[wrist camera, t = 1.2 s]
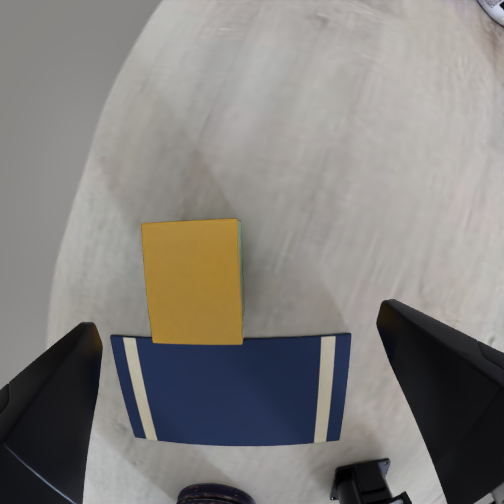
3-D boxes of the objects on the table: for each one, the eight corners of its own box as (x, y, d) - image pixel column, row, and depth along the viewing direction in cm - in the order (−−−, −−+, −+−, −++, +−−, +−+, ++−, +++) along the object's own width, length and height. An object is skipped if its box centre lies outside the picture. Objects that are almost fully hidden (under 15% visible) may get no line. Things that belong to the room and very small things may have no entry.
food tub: (247, 313, 24) (242, 344, 18) (176, 313, 25) (152, 343, 18) (243, 217, 24) (237, 218, 17) (170, 220, 24) (140, 223, 17)
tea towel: (338, 437, 26) (339, 440, 25) (136, 435, 26) (134, 437, 26) (350, 332, 24) (351, 334, 24) (111, 334, 25) (109, 336, 25)
